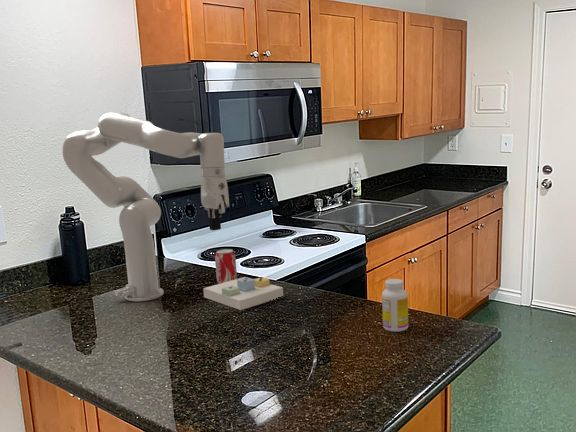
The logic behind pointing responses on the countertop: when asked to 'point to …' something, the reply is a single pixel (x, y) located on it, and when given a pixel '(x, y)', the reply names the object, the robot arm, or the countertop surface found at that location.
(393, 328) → the supplement bottle
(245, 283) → the tile two pip
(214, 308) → the countertop surface
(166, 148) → the robot arm
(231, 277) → the soda can
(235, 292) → the tile one pip
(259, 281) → the tile three pip
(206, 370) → the countertop surface
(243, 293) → the keypad board
